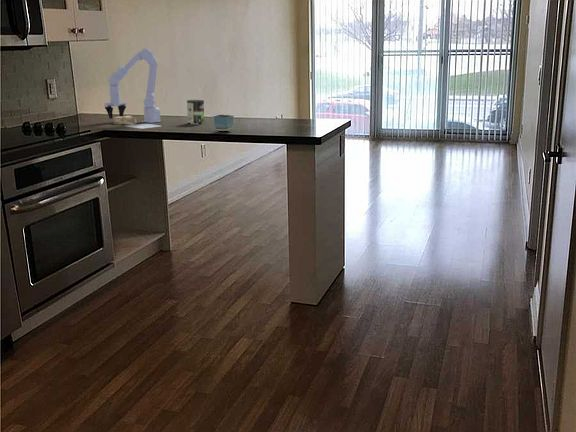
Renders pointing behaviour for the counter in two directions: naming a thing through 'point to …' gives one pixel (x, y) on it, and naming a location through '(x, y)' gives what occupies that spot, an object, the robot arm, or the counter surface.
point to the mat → (143, 126)
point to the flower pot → (223, 121)
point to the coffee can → (195, 111)
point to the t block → (125, 120)
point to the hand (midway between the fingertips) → (116, 118)
